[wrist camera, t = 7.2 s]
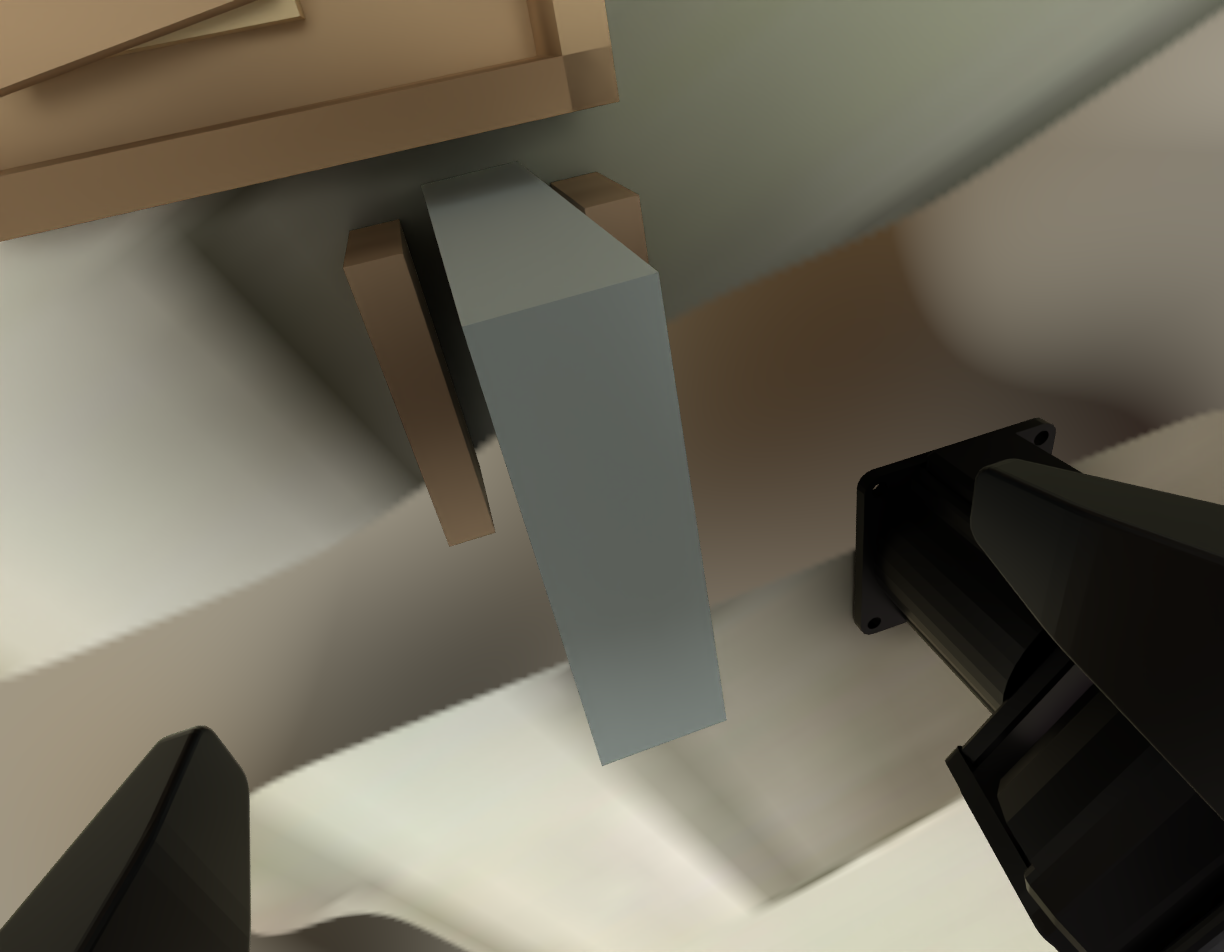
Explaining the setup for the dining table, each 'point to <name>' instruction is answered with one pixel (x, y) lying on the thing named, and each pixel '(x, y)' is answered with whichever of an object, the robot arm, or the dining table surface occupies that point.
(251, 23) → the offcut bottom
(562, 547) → the grey rectangular slab
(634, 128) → the dining table surface
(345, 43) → the tray
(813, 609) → the dining table surface
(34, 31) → the offcut top
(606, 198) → the holder
